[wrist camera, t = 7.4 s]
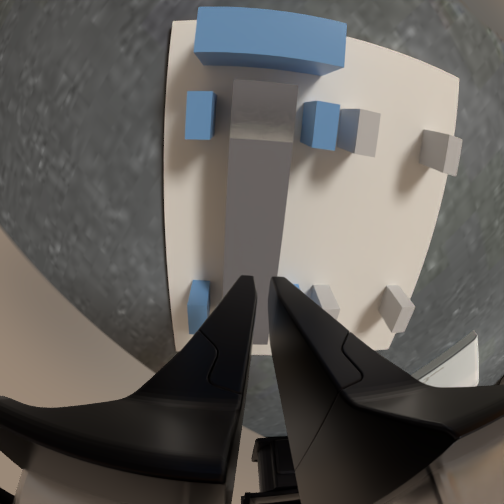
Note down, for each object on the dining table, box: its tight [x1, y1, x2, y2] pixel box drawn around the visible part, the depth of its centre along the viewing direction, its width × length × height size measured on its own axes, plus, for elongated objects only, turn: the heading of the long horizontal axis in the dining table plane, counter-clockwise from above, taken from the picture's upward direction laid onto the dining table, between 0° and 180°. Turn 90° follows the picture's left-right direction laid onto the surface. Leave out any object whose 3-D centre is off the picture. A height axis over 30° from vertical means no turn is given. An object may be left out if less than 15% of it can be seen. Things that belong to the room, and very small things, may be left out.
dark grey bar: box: [223, 79, 298, 345], centre depth 14 cm, size 13×2×2 cm, turn 176°
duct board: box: [164, 7, 462, 355], centre depth 14 cm, size 20×16×4 cm
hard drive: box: [411, 330, 479, 387], centre depth 24 cm, size 2×8×12 cm
